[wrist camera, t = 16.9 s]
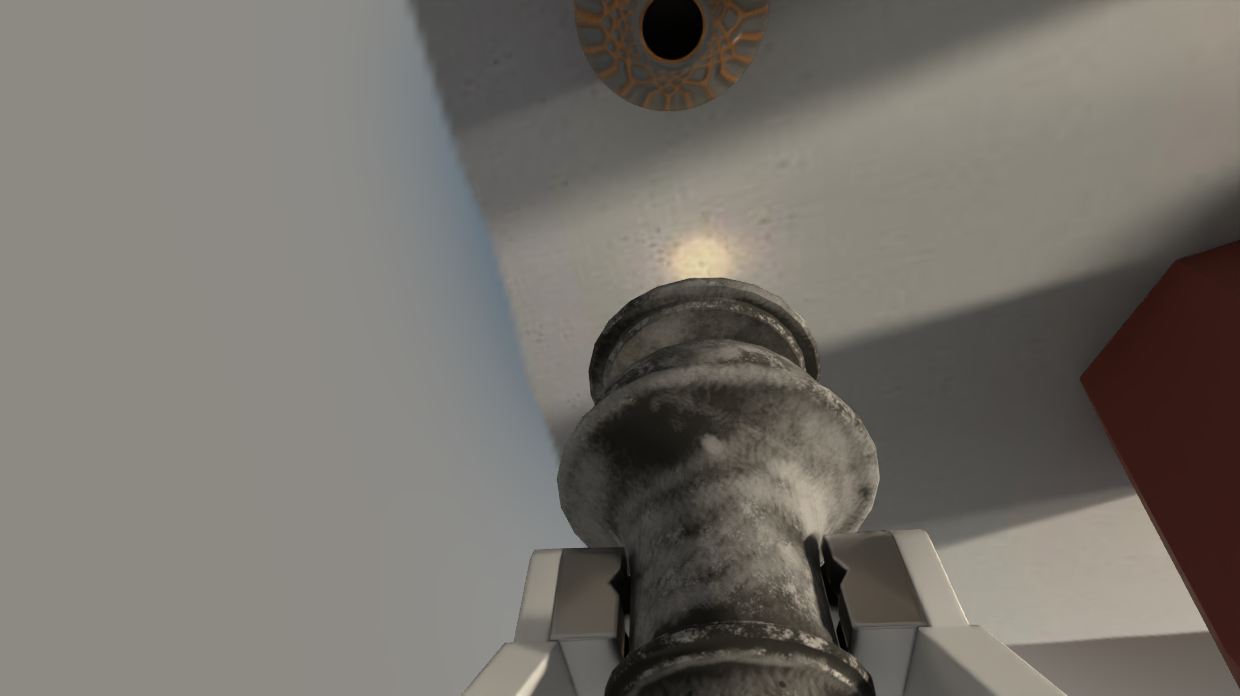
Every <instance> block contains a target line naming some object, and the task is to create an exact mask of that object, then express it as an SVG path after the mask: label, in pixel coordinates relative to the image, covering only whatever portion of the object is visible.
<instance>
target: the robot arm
mask: <svg viewBox="0 0 1240 696" xmlns="http://www.w3.org/2000/svg"><path fill="white" fill-rule="evenodd" d="M821 551H822V555H823V559H824V564H823V565H822V566H821V567H820V575H821V579H822V582H823V586H824V590H825V594H826V598H827V602H828V606H829V610H830V614H831V618H832V621H833V625H834V629H835V633H836V637H837V641H838V645H839V647H840V648H842V649H843V650H845V651H846V652H848V653H849V654H851V655H852V656H854V657H855V658H857V659H858V660H859V661H860V662H861V664H862V665H863V666H864V668H865V669H866V670H867V671H868V673H869V674H870V675H871V676H872V679H873V683H874V687H875V692H876V696H1067V695H1066V694H1065V693H1064V692H1062V691H1061V690H1060V689H1059V688H1057V687H1056V686H1055V685H1054V684H1052V683H1051V682H1050V681H1049V680H1047V679H1046V678H1045V677H1044V676H1043V675H1041V674H1040V673H1039V672H1038V671H1036V670H1035V669H1034V668H1033V667H1031V666H1030V665H1029V664H1028V663H1026V662H1025V661H1024V660H1023V659H1021V658H1020V657H1019V656H1018V655H1017V654H1015V653H1014V652H1013V651H1012V650H1010V649H1009V648H1008V647H1007V646H1005V645H1004V644H1003V643H1002V642H1001V641H999V640H998V639H997V638H996V637H994V636H993V635H992V634H991V633H989V632H988V631H987V630H986V629H984V628H983V627H982V626H981V625H969V623H968V621H967V618H966V616H965V614H964V612H963V610H962V608H961V605H960V603H959V601H958V599H957V597H956V594H955V592H954V590H953V588H952V586H951V583H950V581H949V579H948V577H947V575H946V572H945V570H944V568H943V566H942V564H941V561H940V559H939V557H938V555H937V553H936V551H935V548H934V546H933V544H932V542H931V540H930V537H929V535H928V534H927V533H926V532H925V531H924V530H923V529H910V530H894V531H887V530H881V531H867V532H852V533H838V534H824V535H823V537H822V544H821ZM630 596H631V577H630V576H629V575H628V574H627V556H626V552H625V548H624V547H600V548H565V549H564V548H563V549H543V550H534V552H533V554H532V556H531V558H530V562H529V567H528V572H527V577H526V582H525V587H524V592H523V598H522V603H521V608H520V613H519V619H518V623H517V629H516V634H515V639H514V643H505V644H504V645H503V646H502V647H501V648H500V650H499V651H498V652H497V653H496V654H495V655H494V657H493V658H492V659H491V660H490V661H489V663H488V664H487V665H486V666H485V667H484V668H483V670H482V671H481V672H480V673H479V674H478V676H477V677H476V678H475V679H474V680H473V682H472V683H471V684H470V685H469V686H468V688H467V689H466V690H465V691H464V692H463V693H462V695H461V696H604V693H605V687H606V685H607V682H608V679H609V677H610V674H611V672H612V670H613V669H614V668H615V667H616V666H617V665H618V664H619V663H620V662H621V661H622V660H623V659H624V658H625V657H626V656H627V655H628V654H629V626H630Z"/></svg>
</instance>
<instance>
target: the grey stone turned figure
mask: <svg viewBox="0 0 1240 696" xmlns="http://www.w3.org/2000/svg"><path fill="white" fill-rule="evenodd" d="M820 370H821V367H820V361H819V355H818V349H817V344H816V341H815V339H814V337H813V336H812V334H811V332H810V330H809V328H808V327H807V325H806V323H805V321H804V320H803V318H802V317H801V316H800V315H799V314H798V313H797V312H796V311H795V310H794V309H793V308H792V307H790V306H789V305H788V304H787V303H786V302H785V301H784V300H783V299H782V298H780V297H778V296H776V295H774V294H772V293H770V292H768V291H766V290H764V289H762V288H760V287H758V286H756V285H754V284H749V283H745V282H740V281H736V280H731V279H726V278H689V279H685V280H681V281H677V282H673V283H669V284H666V285H662V286H658V287H656V288H654V289H652V290H650V291H648V292H646V293H645V294H643V295H641V296H639V297H637V298H635V299H633V300H631V301H630V302H629V303H627V304H626V305H625V306H624V307H623V308H622V309H621V310H620V311H619V312H618V313H617V314H616V315H615V316H613V317H612V318H611V319H610V320H609V321H608V323H607V324H606V326H605V328H604V329H603V331H602V333H601V334H600V336H599V338H598V339H597V341H596V343H595V345H594V349H593V353H592V358H591V362H590V366H589V381H590V392H591V397H592V399H593V401H594V403H595V406H594V407H593V408H592V409H591V410H590V411H589V412H588V413H587V414H585V415H584V416H583V417H582V419H581V420H580V422H579V423H578V425H577V426H576V428H575V430H574V431H573V433H572V434H571V436H570V437H569V439H568V440H567V442H566V444H565V445H564V449H563V454H562V458H561V462H560V467H559V471H558V476H557V483H558V490H559V497H560V503H561V508H562V510H563V512H564V514H565V516H566V518H567V520H568V522H569V523H570V525H571V527H572V529H573V531H574V533H575V534H576V535H577V536H578V537H579V538H580V539H581V540H582V541H583V542H584V543H585V544H586V545H587V546H588V547H589V548H600V547H624V548H625V552H626V556H627V574H628V575H630V577H631V596H630V626H629V654H628V655H627V656H626V657H625V658H624V659H623V660H622V661H621V662H620V663H619V664H618V665H617V666H616V667H615V668H614V669H613V670H612V672H611V674H610V677H609V679H608V682H607V685H606V687H605V693H604V696H876V692H875V687H874V683H873V679H872V676H871V675H870V674H869V673H868V671H867V670H866V669H865V668H864V666H863V665H862V664H861V662H860V661H859V660H858V659H857V658H855V657H854V656H852V655H851V654H849V653H848V652H846V651H845V650H843V649H842V648H840V647H839V645H838V641H837V637H836V633H835V629H834V625H833V621H832V618H831V614H830V610H829V606H828V602H827V598H826V594H825V590H824V586H823V582H822V579H821V575H820V563H821V562H823V561H824V559H823V555H822V551H821V544H822V537H823V535H824V534H838V533H852V532H857V530H858V529H859V527H860V526H861V524H862V523H863V521H864V520H865V518H866V517H867V515H868V514H869V512H870V511H871V509H872V507H873V503H874V499H875V496H876V492H877V488H878V484H879V480H880V475H879V467H878V459H877V452H876V447H875V444H874V442H873V441H872V439H871V437H870V435H869V433H868V432H867V430H866V428H865V426H864V424H863V423H862V421H861V419H860V417H859V415H858V414H857V413H856V412H855V411H853V410H852V409H851V408H850V407H849V406H848V405H847V404H846V403H844V402H843V401H842V400H841V399H840V398H839V397H838V396H837V395H835V394H834V393H833V392H832V391H831V390H830V389H828V388H826V387H824V386H821V385H820V384H819V377H820Z"/></svg>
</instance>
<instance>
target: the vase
mask: <svg viewBox="0 0 1240 696" xmlns="http://www.w3.org/2000/svg"><path fill="white" fill-rule="evenodd" d="M768 12H769V0H574V13H575V22H576V27H577V32H578V37H579V40H580V43H581V46H582V49H583V51H584V54H585V56H586V58H587V60H588V62H589V64H590V65H591V67H592V68H593V70H594V72H595V73H596V74H597V76H598V77H599V78H600V79H601V80H602V82H603V83H604V84H605V85H606V86H607V87H608V88H609V89H611V90H612V91H613V92H614V93H616V94H617V95H618V96H620V97H621V98H623V99H625V100H626V101H628V102H630V103H632V104H634V105H637V106H639V107H643V108H646V109H650V110H655V111H666V112H669V111H682V110H687V109H691V108H694V107H697V106H700V105H703V104H705V103H707V102H709V101H711V100H713V99H714V98H716V97H718V96H719V95H721V94H722V93H723V92H725V91H726V90H727V89H728V88H729V87H731V86H732V85H733V84H734V83H735V82H736V81H737V80H738V79H739V78H740V76H741V75H742V74H743V73H744V72H745V70H746V69H747V67H748V66H749V64H750V63H751V61H752V60H753V58H754V56H755V54H756V52H757V50H758V48H759V46H760V43H761V41H762V38H763V35H764V32H765V28H766V24H767V19H768Z"/></svg>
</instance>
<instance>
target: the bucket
mask: <svg viewBox="0 0 1240 696" xmlns="http://www.w3.org/2000/svg"><path fill="white" fill-rule="evenodd" d="M1080 381H1081V383H1082V385H1083V387H1084V389H1085V391H1086V393H1087V395H1088V397H1089V399H1090V401H1091V403H1092V405H1093V407H1094V409H1095V411H1096V413H1097V415H1098V417H1099V419H1100V421H1101V424H1102V426H1103V428H1104V430H1105V432H1106V434H1107V436H1108V438H1109V440H1110V442H1111V444H1112V446H1113V448H1114V450H1115V452H1116V454H1117V456H1118V458H1119V460H1120V462H1121V464H1122V466H1123V468H1124V470H1125V472H1126V474H1127V476H1128V477H1129V479H1130V481H1131V483H1132V485H1133V487H1134V489H1135V491H1136V493H1137V495H1138V496H1139V498H1140V500H1141V502H1142V504H1143V506H1144V508H1145V510H1146V512H1147V514H1148V515H1149V517H1150V519H1151V521H1152V523H1153V525H1154V527H1155V529H1156V531H1157V533H1158V534H1159V536H1160V538H1161V540H1162V542H1163V544H1164V546H1165V548H1166V550H1167V552H1168V553H1169V555H1170V557H1171V559H1172V561H1173V563H1174V565H1175V567H1176V569H1177V571H1178V573H1179V574H1180V576H1181V578H1182V580H1183V582H1184V584H1185V586H1186V588H1187V590H1188V592H1189V593H1190V595H1191V597H1192V599H1193V601H1194V603H1195V605H1196V607H1197V609H1198V611H1199V612H1200V614H1201V616H1202V618H1203V620H1204V622H1205V624H1206V626H1207V628H1208V630H1209V631H1210V633H1211V635H1212V637H1213V639H1214V641H1215V643H1216V645H1217V647H1218V649H1219V650H1220V652H1221V654H1222V656H1223V658H1224V660H1225V662H1226V664H1227V665H1228V667H1229V670H1230V671H1231V673H1232V675H1233V677H1234V679H1235V681H1236V683H1237V685H1238V687H1239V688H1240V240H1239V241H1236V242H1233V243H1230V244H1227V245H1224V246H1221V247H1217V248H1214V249H1211V250H1208V251H1205V252H1202V253H1199V254H1195V255H1192V256H1189V257H1186V258H1183V259H1180V260H1177V261H1176V262H1175V263H1174V264H1173V265H1172V266H1171V268H1170V269H1169V270H1168V271H1167V273H1166V274H1165V275H1164V276H1163V277H1162V279H1161V280H1160V281H1159V282H1158V284H1157V285H1156V286H1155V287H1154V288H1153V290H1152V291H1151V292H1150V293H1149V295H1148V296H1147V297H1146V298H1145V299H1144V301H1143V302H1142V303H1141V304H1140V306H1139V307H1138V308H1137V309H1136V310H1135V312H1134V313H1133V314H1132V315H1131V317H1130V318H1129V319H1128V320H1127V321H1126V323H1125V324H1124V325H1123V326H1122V328H1121V329H1120V330H1119V331H1118V332H1117V334H1116V335H1115V336H1114V337H1113V339H1112V340H1111V341H1110V342H1109V343H1108V345H1107V346H1106V347H1105V348H1104V350H1103V351H1102V352H1101V353H1100V354H1099V356H1098V357H1097V358H1096V359H1095V361H1094V362H1093V363H1092V364H1091V365H1090V367H1089V368H1088V369H1087V370H1086V372H1085V373H1084V374H1083V375H1082V376H1081V378H1080Z"/></svg>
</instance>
